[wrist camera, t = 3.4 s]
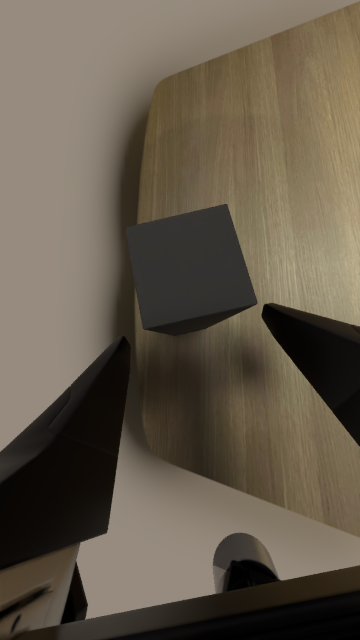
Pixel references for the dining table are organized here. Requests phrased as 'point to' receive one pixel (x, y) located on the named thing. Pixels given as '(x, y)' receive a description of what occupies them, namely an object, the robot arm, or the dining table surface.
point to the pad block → (189, 271)
